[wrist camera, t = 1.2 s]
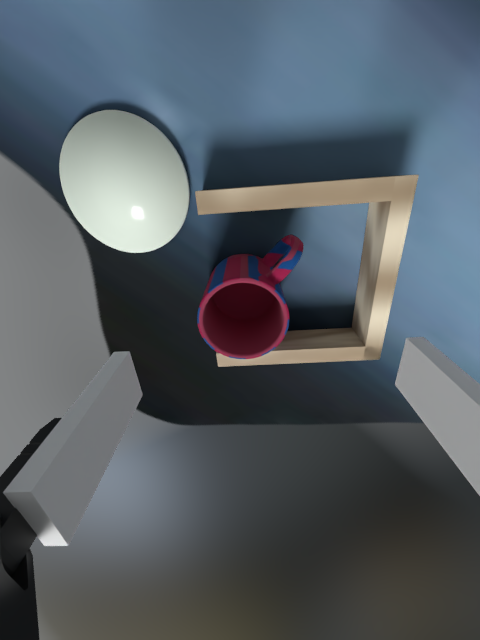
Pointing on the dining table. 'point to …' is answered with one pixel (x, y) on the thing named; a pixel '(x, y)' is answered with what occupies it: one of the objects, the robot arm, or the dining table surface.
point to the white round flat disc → (124, 181)
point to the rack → (375, 270)
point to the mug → (248, 302)
